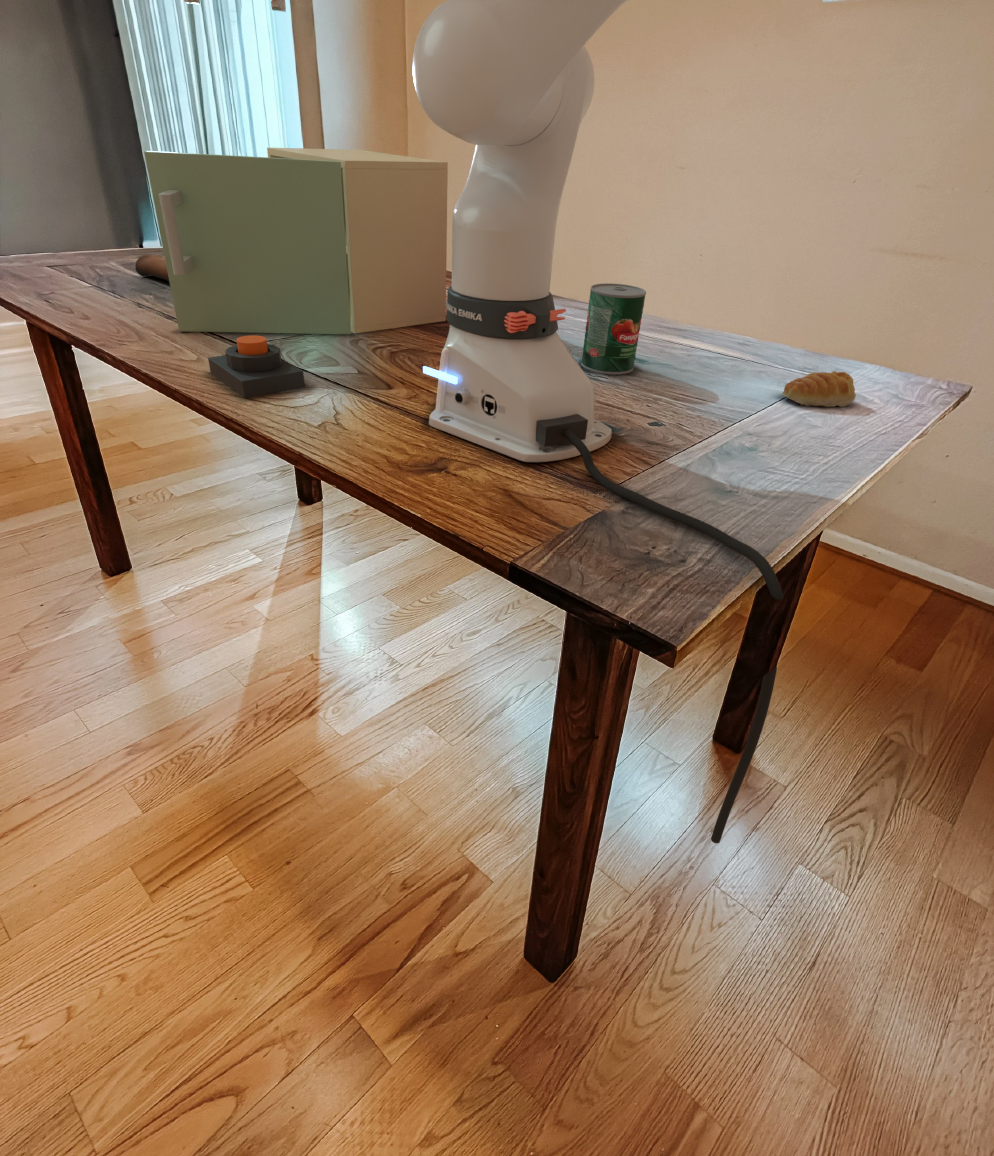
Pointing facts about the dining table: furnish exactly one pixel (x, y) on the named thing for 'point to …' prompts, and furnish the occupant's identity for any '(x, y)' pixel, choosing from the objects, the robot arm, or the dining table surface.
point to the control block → (256, 372)
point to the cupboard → (390, 235)
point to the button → (252, 345)
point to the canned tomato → (612, 328)
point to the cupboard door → (252, 242)
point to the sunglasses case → (152, 266)
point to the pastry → (822, 389)
